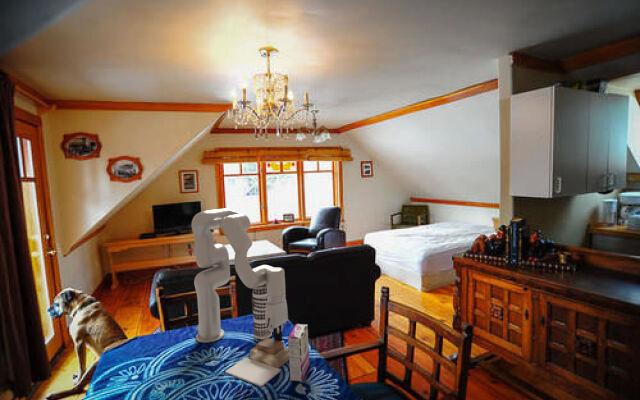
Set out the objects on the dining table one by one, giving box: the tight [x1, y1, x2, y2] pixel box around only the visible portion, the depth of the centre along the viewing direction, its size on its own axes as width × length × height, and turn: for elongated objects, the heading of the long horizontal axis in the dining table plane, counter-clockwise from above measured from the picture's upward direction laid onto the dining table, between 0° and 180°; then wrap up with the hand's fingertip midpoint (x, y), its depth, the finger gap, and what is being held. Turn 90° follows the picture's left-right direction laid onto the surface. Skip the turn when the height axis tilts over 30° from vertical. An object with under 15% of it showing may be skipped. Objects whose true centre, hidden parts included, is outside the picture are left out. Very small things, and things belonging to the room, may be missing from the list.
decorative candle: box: [250, 283, 273, 340], centre depth 155 cm, size 9×9×25 cm
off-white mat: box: [225, 357, 282, 388], centre depth 126 cm, size 18×11×1 cm, turn 59°
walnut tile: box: [256, 337, 285, 355], centre depth 134 cm, size 9×6×2 cm, turn 59°
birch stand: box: [249, 345, 289, 369], centre depth 134 cm, size 14×8×4 cm, turn 59°
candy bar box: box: [287, 323, 310, 383], centre depth 124 cm, size 11×5×16 cm, turn 168°
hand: (278, 340), depth 138 cm, fingers closed
